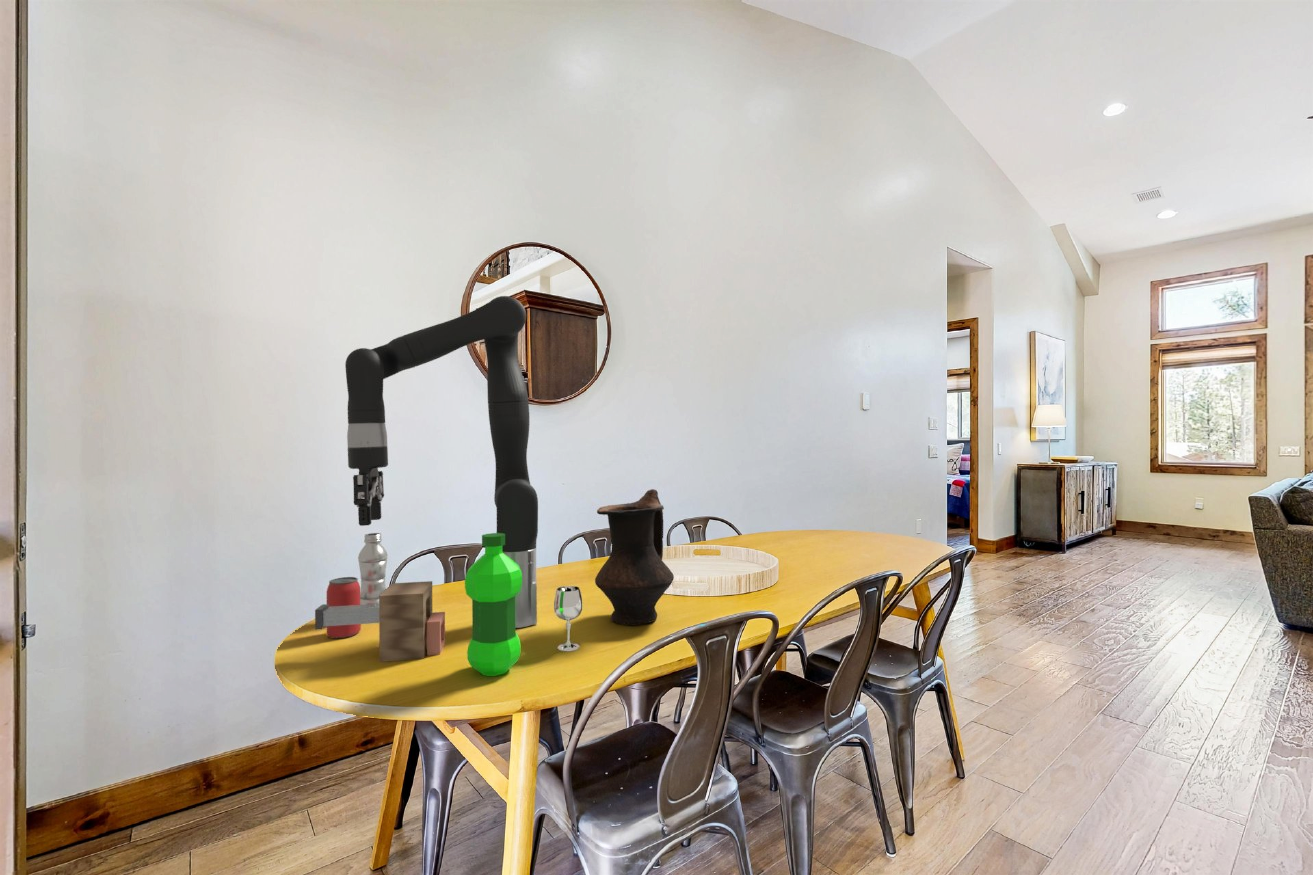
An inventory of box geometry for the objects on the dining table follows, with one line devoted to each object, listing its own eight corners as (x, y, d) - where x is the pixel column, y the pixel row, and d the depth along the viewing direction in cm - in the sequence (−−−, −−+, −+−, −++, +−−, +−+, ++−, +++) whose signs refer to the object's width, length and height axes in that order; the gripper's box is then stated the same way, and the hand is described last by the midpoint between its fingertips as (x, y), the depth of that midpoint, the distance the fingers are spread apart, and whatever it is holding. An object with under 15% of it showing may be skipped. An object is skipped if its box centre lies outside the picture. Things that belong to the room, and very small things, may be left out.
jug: (648, 638, 125) (647, 497, 125) (578, 624, 134) (578, 494, 134) (692, 612, 143) (691, 489, 143) (628, 602, 153) (627, 487, 153)
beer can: (346, 640, 125) (345, 584, 125) (319, 638, 126) (319, 582, 126) (367, 630, 131) (367, 576, 131) (341, 628, 133) (341, 575, 133)
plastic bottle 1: (369, 622, 137) (368, 537, 137) (352, 618, 140) (352, 534, 140) (394, 615, 142) (393, 533, 142) (377, 611, 146) (377, 531, 146)
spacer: (445, 643, 123) (444, 611, 123) (440, 654, 116) (439, 621, 116) (433, 644, 122) (432, 612, 122) (427, 655, 116) (427, 622, 116)
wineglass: (559, 654, 116) (559, 593, 116) (550, 645, 121) (550, 587, 121) (586, 649, 119) (586, 590, 119) (577, 640, 124) (576, 583, 124)
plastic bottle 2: (500, 655, 115) (499, 528, 115) (534, 668, 109) (533, 534, 109) (454, 671, 108) (453, 535, 108) (487, 686, 101) (487, 541, 101)
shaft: (419, 617, 121) (418, 598, 121) (415, 622, 117) (415, 603, 117) (322, 623, 117) (322, 604, 117) (315, 629, 113) (315, 609, 113)
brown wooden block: (432, 641, 124) (432, 581, 124) (423, 658, 114) (423, 593, 114) (392, 643, 122) (391, 583, 122) (379, 661, 113) (379, 595, 113)
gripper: (378, 445, 117) (381, 526, 117) (394, 444, 131) (396, 516, 131) (337, 446, 115) (340, 528, 115) (357, 445, 129) (360, 518, 129)
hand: (370, 522), depth 123 cm, fingers open, 8 cm apart
